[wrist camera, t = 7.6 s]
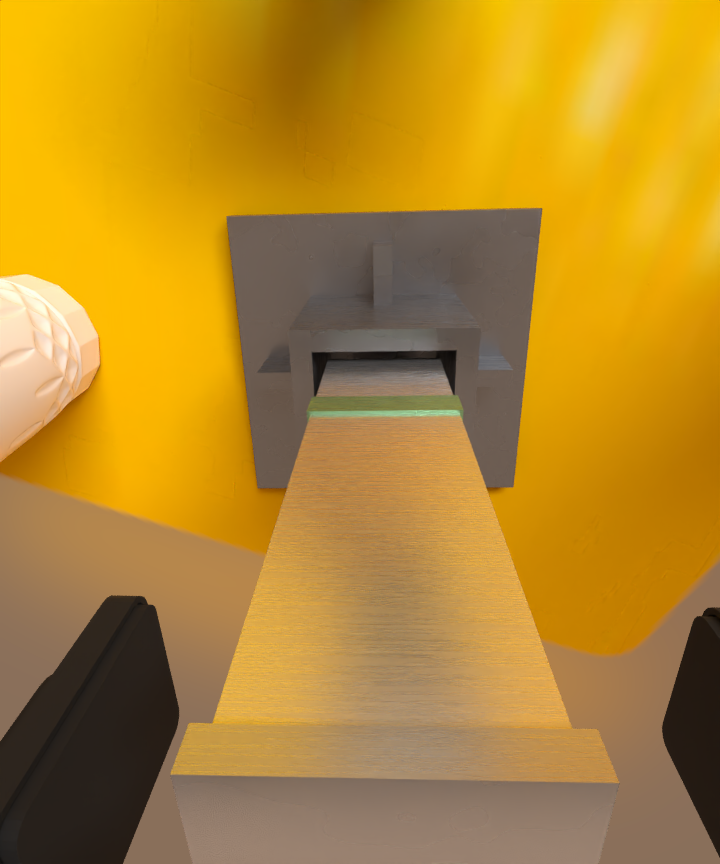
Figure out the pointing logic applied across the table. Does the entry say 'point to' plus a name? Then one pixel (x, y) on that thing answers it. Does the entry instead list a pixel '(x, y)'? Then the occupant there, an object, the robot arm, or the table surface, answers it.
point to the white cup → (40, 356)
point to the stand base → (385, 315)
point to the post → (390, 663)
